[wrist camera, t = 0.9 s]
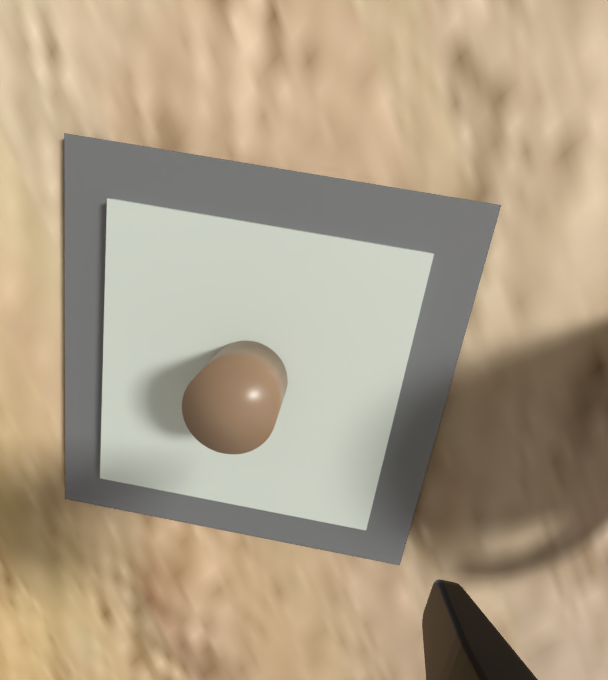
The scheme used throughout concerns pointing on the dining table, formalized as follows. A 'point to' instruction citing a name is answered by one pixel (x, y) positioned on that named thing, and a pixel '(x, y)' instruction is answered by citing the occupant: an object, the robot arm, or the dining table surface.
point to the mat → (288, 212)
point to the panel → (253, 360)
